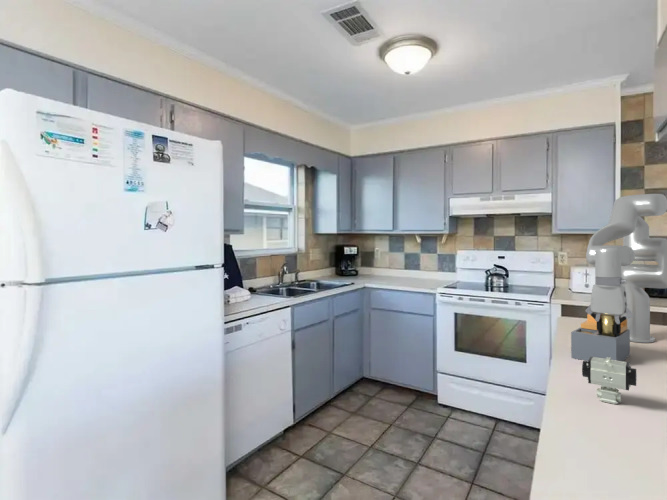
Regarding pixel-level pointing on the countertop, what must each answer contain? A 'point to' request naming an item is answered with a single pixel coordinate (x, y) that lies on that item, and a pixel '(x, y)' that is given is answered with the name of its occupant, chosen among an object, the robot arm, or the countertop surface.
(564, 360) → the countertop surface
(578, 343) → the housing
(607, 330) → the pin
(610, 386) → the pneumatic valve
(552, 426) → the countertop surface
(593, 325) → the cover
